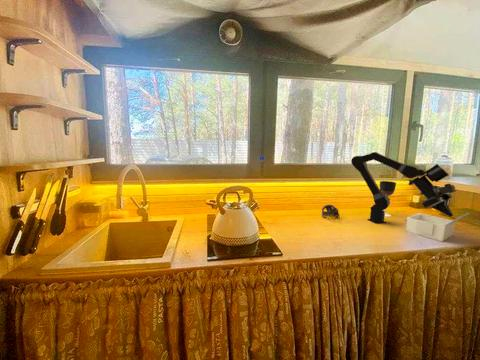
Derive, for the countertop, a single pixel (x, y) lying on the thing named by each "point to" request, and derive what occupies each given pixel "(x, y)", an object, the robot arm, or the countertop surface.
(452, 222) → the far flap
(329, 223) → the countertop surface
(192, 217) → the countertop surface
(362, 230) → the countertop surface
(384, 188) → the wineglass
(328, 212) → the dark glossy dome
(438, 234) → the carton
